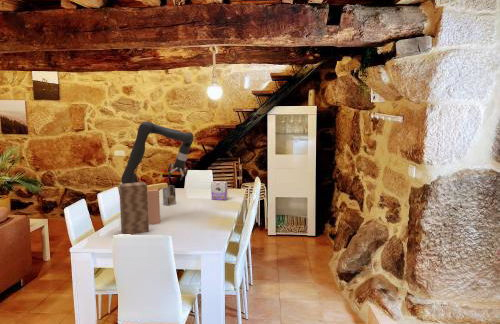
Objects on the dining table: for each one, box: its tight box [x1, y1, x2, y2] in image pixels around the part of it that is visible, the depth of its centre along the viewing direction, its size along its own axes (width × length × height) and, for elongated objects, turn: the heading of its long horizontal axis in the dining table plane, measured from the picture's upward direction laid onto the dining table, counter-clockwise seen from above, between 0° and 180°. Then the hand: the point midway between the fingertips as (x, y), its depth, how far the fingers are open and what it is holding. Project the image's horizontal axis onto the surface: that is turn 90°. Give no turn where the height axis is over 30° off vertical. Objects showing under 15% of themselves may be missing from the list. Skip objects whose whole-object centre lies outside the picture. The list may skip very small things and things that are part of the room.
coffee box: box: [162, 184, 177, 207], centre depth 329 cm, size 9×6×16 cm
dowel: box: [147, 182, 168, 191], centre depth 275 cm, size 22×4×3 cm, turn 134°
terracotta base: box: [147, 189, 161, 226], centre depth 275 cm, size 9×9×24 cm
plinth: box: [118, 181, 150, 235], centre depth 254 cm, size 16×10×32 cm, turn 117°
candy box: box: [210, 180, 229, 201], centre depth 346 cm, size 14×6×16 cm, turn 76°
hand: (175, 179), depth 285 cm, fingers open, 8 cm apart
